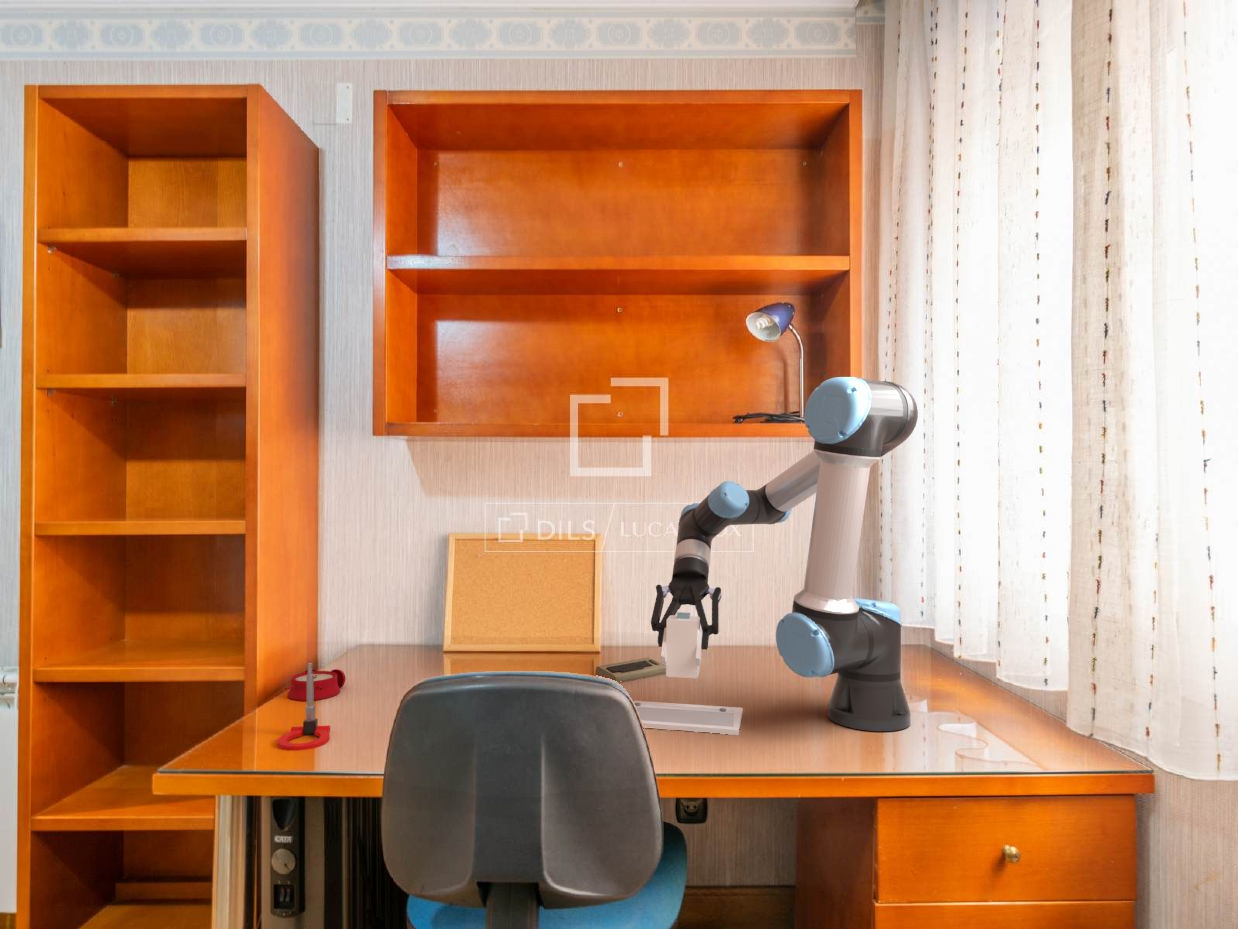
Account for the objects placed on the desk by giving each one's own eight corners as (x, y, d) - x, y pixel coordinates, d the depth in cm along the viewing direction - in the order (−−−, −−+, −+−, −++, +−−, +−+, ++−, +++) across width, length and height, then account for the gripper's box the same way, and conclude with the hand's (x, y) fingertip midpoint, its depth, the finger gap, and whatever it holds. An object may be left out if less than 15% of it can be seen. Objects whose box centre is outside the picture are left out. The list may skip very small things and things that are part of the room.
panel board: (742, 712, 155) (742, 693, 155) (738, 735, 141) (738, 714, 141) (633, 705, 159) (633, 686, 160) (619, 726, 146) (619, 706, 146)
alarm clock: (277, 686, 160) (304, 653, 175) (279, 714, 162) (307, 679, 176) (328, 686, 160) (351, 653, 175) (330, 714, 162) (353, 679, 176)
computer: (615, 686, 176) (615, 671, 176) (594, 678, 183) (594, 664, 183) (668, 675, 186) (668, 661, 186) (647, 669, 192) (647, 655, 192)
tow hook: (322, 752, 133) (335, 732, 142) (322, 676, 132) (335, 661, 142) (270, 754, 132) (287, 734, 141) (270, 678, 132) (286, 662, 141)
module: (699, 672, 156) (700, 611, 156) (696, 678, 151) (697, 616, 151) (669, 670, 157) (670, 610, 157) (665, 676, 152) (666, 614, 152)
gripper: (737, 578, 167) (731, 674, 151) (649, 575, 171) (634, 668, 155) (735, 556, 162) (729, 653, 146) (645, 553, 166) (629, 647, 150)
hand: (680, 661), depth 150 cm, fingers closed on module, 6 cm apart
